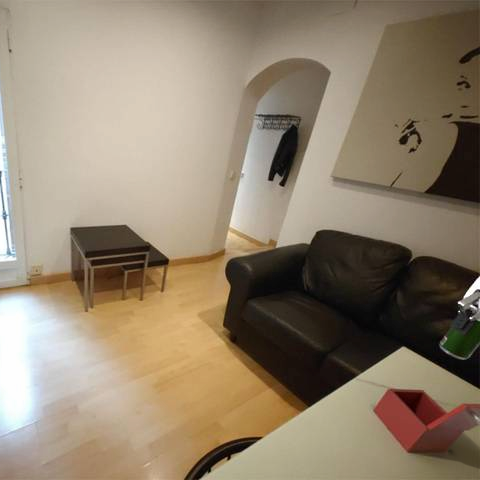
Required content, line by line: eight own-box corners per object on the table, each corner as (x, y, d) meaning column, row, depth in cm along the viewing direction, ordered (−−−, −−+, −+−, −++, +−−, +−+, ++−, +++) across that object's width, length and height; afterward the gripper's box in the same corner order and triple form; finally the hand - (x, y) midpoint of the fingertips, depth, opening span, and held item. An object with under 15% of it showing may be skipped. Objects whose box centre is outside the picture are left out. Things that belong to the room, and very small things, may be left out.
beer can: (442, 353, 65) (471, 314, 61) (434, 340, 70) (461, 303, 65) (471, 364, 63) (504, 325, 58) (461, 350, 68) (491, 313, 63)
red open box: (372, 410, 73) (388, 388, 69) (405, 411, 74) (422, 389, 70) (406, 452, 63) (426, 429, 60) (444, 452, 65) (465, 429, 61)
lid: (462, 403, 54) (489, 431, 50) (504, 404, 56) (533, 432, 52) (426, 426, 60) (447, 452, 56) (465, 426, 61) (488, 452, 57)
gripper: (508, 271, 52) (455, 341, 59) (577, 279, 54) (517, 345, 61) (466, 254, 59) (422, 318, 66) (528, 262, 61) (479, 323, 68)
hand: (469, 331), depth 64 cm, fingers closed on beer can, 5 cm apart
